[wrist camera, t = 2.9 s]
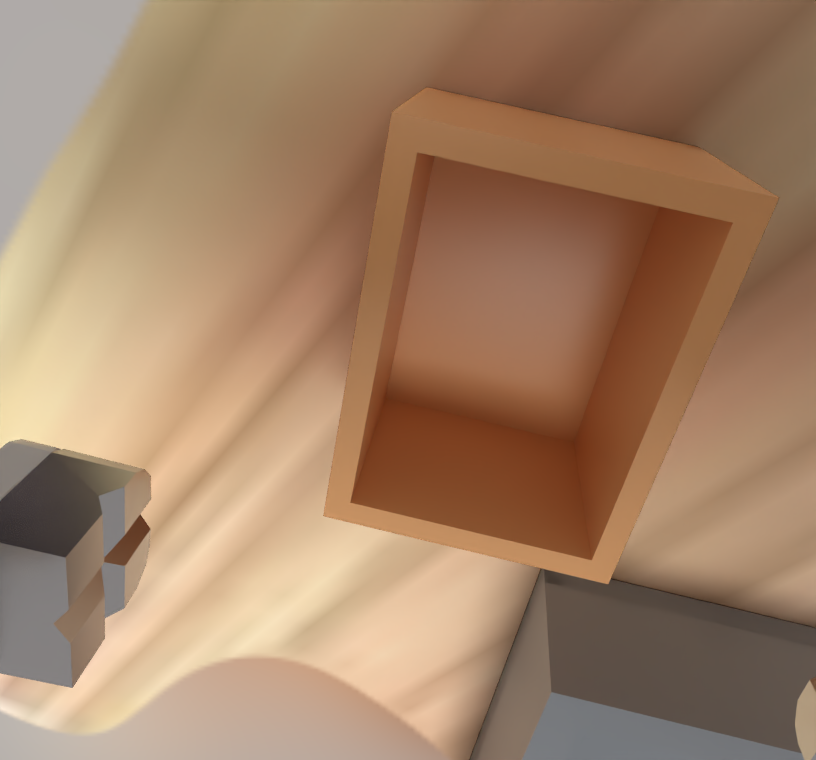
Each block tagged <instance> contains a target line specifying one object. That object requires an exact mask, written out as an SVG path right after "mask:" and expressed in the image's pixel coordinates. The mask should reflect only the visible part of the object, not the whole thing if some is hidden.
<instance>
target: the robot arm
mask: <svg viewBox="0 0 816 760" xmlns="http://www.w3.org/2000/svg"><path fill="white" fill-rule="evenodd" d="M150 500H151V476H150V475H149V473H148V472H147V471H146V470H145V469H142V468H138V467H134V466H130V465H126V464H122V463H118V462H114V461H110V460H106V459H102V458H98V457H94V456H90V455H86V454H82V453H78V452H74V451H70V450H66V449H59V448H56V447H52V446H48V445H44V444H40V443H35V442H31V441H27V440H23V439H20V440H15V441H11V442H8V443H7V444H5V445H4V446H3V447H2V448H0V673H1V674H6V675H11V676H16V677H21V678H26V679H31V680H36V681H41V682H46V683H51V684H56V685H61V686H66V687H71V688H73V686H74V685H75V683H76V682H77V680H78V679H79V677H80V675H81V674H82V672H83V671H84V669H85V668H86V666H87V665H88V663H89V662H90V660H91V659H92V657H93V656H94V654H95V653H96V651H97V650H98V648H99V647H100V645H101V643H102V642H103V640H104V639H105V618H106V617H108V616H110V615H112V614H114V613H116V612H118V611H120V610H122V609H124V608H125V606H126V605H127V603H128V602H129V600H130V598H131V597H132V595H133V594H134V592H135V590H136V589H137V586H138V584H139V581H140V579H141V576H142V574H143V571H144V569H145V566H146V562H147V557H148V552H149V547H150V528H149V526H148V525H147V523H146V522H145V521H144V519H143V518H142V516H141V515H140V514H141V512H142V511H143V510H144V508H145V507H146V505H147V504H148V503H149V501H150ZM795 728H796V734H797V740H798V745H799V747H800V750H801V752H802V755H803V757H804V760H816V677H814V678H812V679H810V680H809V682H808V683H807V685H806V687H805V688H804V690H803V692H802V694H801V695H800V697H799V699H798V701H797V709H796V718H795Z"/></svg>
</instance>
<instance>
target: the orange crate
mask: <svg viewBox="0 0 816 760" xmlns="http://www.w3.org/2000/svg"><path fill="white" fill-rule="evenodd" d="M778 200H779V197H777V196H776V195H774V194H772V193H771V192H769V191H768V190H766V189H765V188H763V187H761V186H760V185H758V184H757V183H755V182H754V181H752V180H750V179H749V178H747V177H746V176H744V175H742V174H741V173H739V172H738V171H736V170H735V169H733V168H731V167H730V166H728V165H727V164H725V163H724V162H722V161H720V160H719V159H717V158H716V157H714V156H712V155H711V154H709V153H708V152H706V151H705V150H703V149H701V148H700V147H696V146H691V145H687V144H682V143H678V142H673V141H669V140H664V139H660V138H655V137H651V136H646V135H641V134H637V133H632V132H628V131H623V130H619V129H614V128H610V127H605V126H601V125H596V124H592V123H587V122H582V121H578V120H573V119H569V118H564V117H560V116H555V115H551V114H546V113H542V112H537V111H533V110H528V109H523V108H519V107H514V106H510V105H505V104H501V103H496V102H492V101H487V100H483V99H478V98H474V97H469V96H464V95H460V94H455V93H451V92H446V91H442V90H437V89H433V88H428V87H426V88H425V89H423V90H422V91H420V92H419V93H418V94H416V95H415V96H413V97H412V98H411V99H409V100H408V101H406V102H405V103H404V104H402V105H401V106H399V107H398V108H396V109H395V110H394V111H392V113H391V119H390V125H389V131H388V136H387V142H386V148H385V154H384V160H383V166H382V172H381V178H380V184H379V190H378V196H377V201H376V207H375V213H374V219H373V225H372V231H371V237H370V243H369V249H368V255H367V261H366V267H365V272H364V278H363V284H362V290H361V296H360V302H359V308H358V314H357V320H356V326H355V332H354V337H353V343H352V349H351V355H350V361H349V367H348V373H347V379H346V385H345V391H344V397H343V403H342V408H341V414H340V420H339V426H338V432H337V438H336V444H335V450H334V456H333V462H332V468H331V473H330V479H329V485H328V491H327V497H326V503H325V509H324V515H323V516H325V517H329V518H333V519H338V520H342V521H346V522H350V523H354V524H359V525H363V526H367V527H371V528H375V529H379V530H384V531H388V532H392V533H396V534H400V535H404V536H409V537H413V538H417V539H421V540H425V541H429V542H434V543H438V544H442V545H446V546H450V547H454V548H459V549H463V550H467V551H471V552H475V553H479V554H484V555H488V556H492V557H496V558H500V559H504V560H509V561H513V562H517V563H521V564H525V565H530V566H534V567H538V568H542V569H546V570H550V571H555V572H559V573H563V574H567V575H571V576H575V577H580V578H584V579H588V580H592V581H596V582H600V583H605V584H609V581H610V579H611V577H612V575H613V572H614V570H615V568H616V566H617V563H618V561H619V559H620V557H621V554H622V552H623V550H624V548H625V545H626V543H627V541H628V539H629V536H630V534H631V532H632V530H633V527H634V525H635V523H636V521H637V518H638V516H639V514H640V512H641V509H642V507H643V505H644V502H645V500H646V498H647V496H648V493H649V491H650V489H651V487H652V484H653V482H654V480H655V478H656V475H657V473H658V471H659V469H660V466H661V464H662V462H663V460H664V457H665V455H666V453H667V451H668V448H669V446H670V444H671V442H672V439H673V437H674V435H675V432H676V430H677V428H678V426H679V423H680V421H681V419H682V417H683V414H684V412H685V410H686V408H687V405H688V403H689V401H690V399H691V396H692V394H693V392H694V390H695V387H696V385H697V383H698V381H699V378H700V376H701V374H702V372H703V369H704V367H705V365H706V362H707V360H708V358H709V356H710V353H711V351H712V349H713V347H714V344H715V342H716V340H717V338H718V335H719V333H720V331H721V329H722V326H723V324H724V322H725V320H726V317H727V315H728V313H729V311H730V308H731V306H732V304H733V302H734V299H735V297H736V295H737V292H738V290H739V288H740V286H741V283H742V281H743V279H744V277H745V274H746V272H747V270H748V268H749V265H750V263H751V261H752V259H753V256H754V254H755V252H756V250H757V247H758V245H759V243H760V241H761V238H762V236H763V234H764V232H765V229H766V227H767V225H768V222H769V220H770V218H771V216H772V213H773V211H774V209H775V207H776V204H777V202H778Z"/></svg>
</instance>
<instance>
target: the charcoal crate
mask: <svg viewBox="0 0 816 760" xmlns="http://www.w3.org/2000/svg"><path fill="white" fill-rule="evenodd" d="M814 677H816V628H813V627H809V626H805V625H800V624H796V623H792V622H788V621H784V620H779V619H775V618H771V617H767V616H763V615H759V614H754V613H750V612H746V611H742V610H738V609H734V608H729V607H725V606H721V605H717V604H713V603H709V602H704V601H700V600H696V599H692V598H688V597H683V596H679V595H675V594H671V593H667V592H663V591H658V590H654V589H650V588H646V587H642V586H638V585H633V584H629V583H625V582H621V581H617V580H612V579H610V581H609V584H605V583H600V582H596V581H592V580H588V579H584V578H580V577H575V576H571V575H567V574H563V573H559V572H555V571H550V570H546V569H542V568H541V571H540V574H539V576H538V579H537V582H536V584H535V587H534V590H533V592H532V595H531V598H530V600H529V603H528V605H527V608H526V611H525V613H524V616H523V619H522V621H521V624H520V627H519V629H518V632H517V635H516V637H515V640H514V643H513V645H512V648H511V651H510V653H509V656H508V659H507V661H506V664H505V667H504V669H503V672H502V675H501V677H500V680H499V683H498V685H497V688H496V691H495V693H494V696H493V699H492V701H491V704H490V707H489V709H488V712H487V715H486V717H485V720H484V723H483V725H482V728H481V731H480V733H479V736H478V739H477V741H476V744H475V747H474V749H473V752H472V755H471V757H470V760H804V757H803V755H802V752H801V750H800V747H799V745H798V740H797V734H796V728H795V718H796V709H797V701H798V699H799V697H800V695H801V694H802V692H803V690H804V688H805V687H806V685H807V683H808V682H809V680H810V679H812V678H814Z"/></svg>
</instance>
